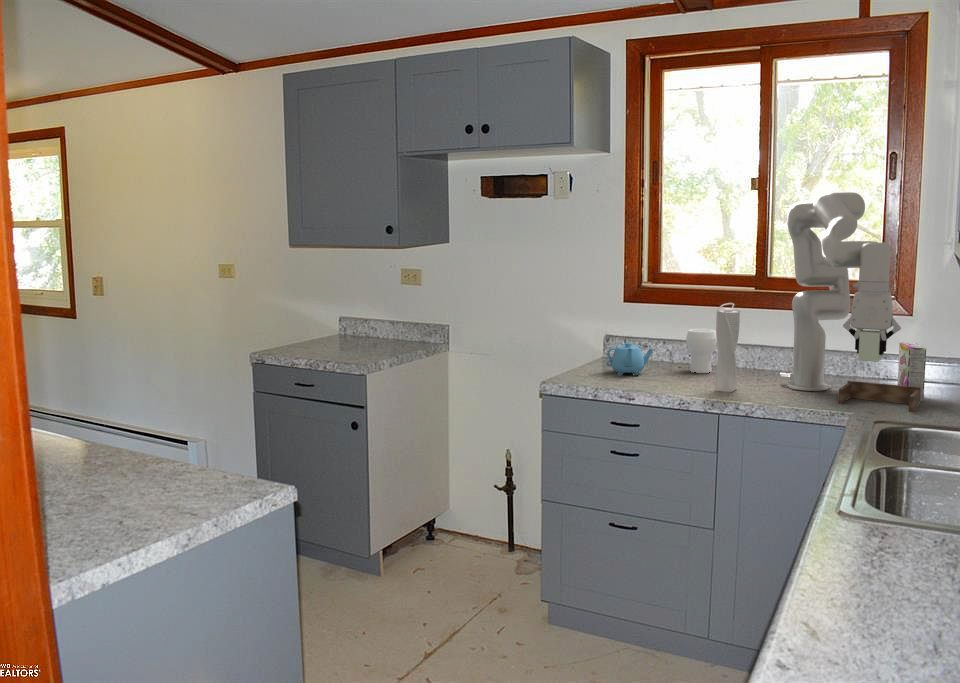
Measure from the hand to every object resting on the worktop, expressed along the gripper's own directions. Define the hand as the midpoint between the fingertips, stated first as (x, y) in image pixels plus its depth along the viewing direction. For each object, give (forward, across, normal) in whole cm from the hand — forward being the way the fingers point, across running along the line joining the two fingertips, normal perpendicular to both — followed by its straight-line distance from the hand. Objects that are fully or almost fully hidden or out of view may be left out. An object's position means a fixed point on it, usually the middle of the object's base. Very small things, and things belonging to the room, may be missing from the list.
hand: (870, 352), depth 234 cm
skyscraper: (+18, -45, +15) cm, 51 cm away
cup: (+17, -64, +42) cm, 78 cm away
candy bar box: (+18, +6, +31) cm, 36 cm away
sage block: (+2, 0, 0) cm, 2 cm away
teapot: (+17, -84, +25) cm, 89 cm away
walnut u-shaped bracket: (+18, 0, +17) cm, 25 cm away
